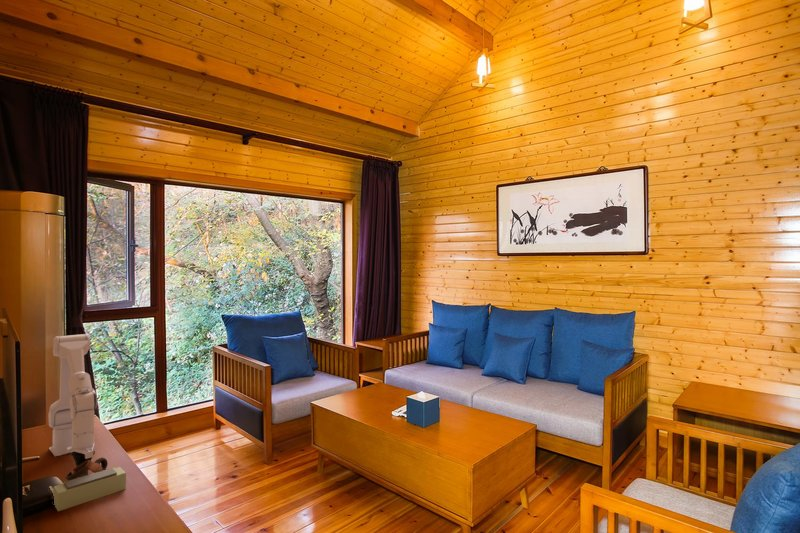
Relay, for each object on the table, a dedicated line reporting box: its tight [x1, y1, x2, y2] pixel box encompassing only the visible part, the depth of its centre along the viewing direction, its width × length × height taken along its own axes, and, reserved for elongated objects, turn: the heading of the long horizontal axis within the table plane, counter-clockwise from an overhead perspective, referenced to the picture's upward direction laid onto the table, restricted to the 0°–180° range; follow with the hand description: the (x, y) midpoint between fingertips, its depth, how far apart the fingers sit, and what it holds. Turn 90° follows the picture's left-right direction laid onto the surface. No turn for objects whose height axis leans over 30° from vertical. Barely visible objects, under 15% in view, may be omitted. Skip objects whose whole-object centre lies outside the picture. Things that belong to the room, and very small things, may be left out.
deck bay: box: [48, 466, 127, 512], centre depth 133 cm, size 11×17×6 cm, turn 139°
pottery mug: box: [65, 457, 109, 481], centre depth 138 cm, size 12×10×8 cm
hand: (82, 473), depth 141 cm, fingers closed
